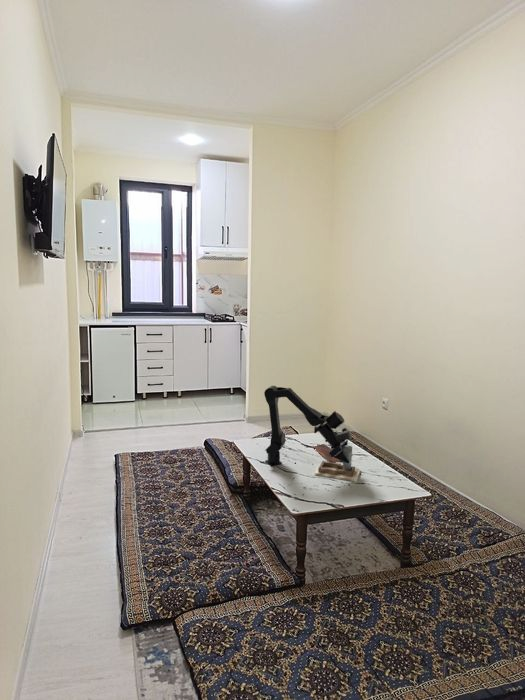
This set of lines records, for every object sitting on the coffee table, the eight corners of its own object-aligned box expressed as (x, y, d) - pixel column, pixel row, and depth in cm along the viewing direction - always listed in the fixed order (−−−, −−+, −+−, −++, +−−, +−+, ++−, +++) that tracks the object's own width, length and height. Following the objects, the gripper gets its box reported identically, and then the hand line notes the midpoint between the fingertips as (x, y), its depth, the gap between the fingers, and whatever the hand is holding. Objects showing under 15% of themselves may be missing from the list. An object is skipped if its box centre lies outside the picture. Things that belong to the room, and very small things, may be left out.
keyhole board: (314, 474, 228) (315, 468, 227) (320, 464, 240) (320, 459, 239) (356, 481, 221) (357, 475, 221) (360, 471, 233) (360, 465, 233)
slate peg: (341, 472, 228) (342, 447, 226) (344, 470, 232) (345, 444, 230) (348, 474, 226) (350, 448, 224) (352, 472, 230) (353, 446, 227)
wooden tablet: (310, 443, 267) (326, 440, 269) (310, 447, 267) (326, 444, 270) (330, 462, 242) (347, 458, 244) (330, 466, 242) (348, 462, 245)
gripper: (337, 430, 218) (360, 456, 216) (344, 419, 235) (365, 443, 233) (320, 444, 222) (342, 470, 220) (328, 432, 239) (348, 456, 237)
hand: (350, 459), depth 227 cm, fingers open, 9 cm apart
